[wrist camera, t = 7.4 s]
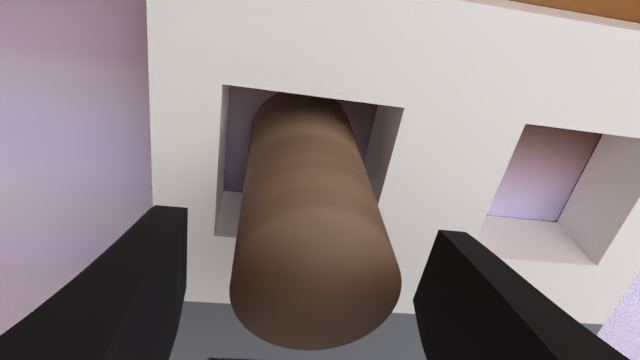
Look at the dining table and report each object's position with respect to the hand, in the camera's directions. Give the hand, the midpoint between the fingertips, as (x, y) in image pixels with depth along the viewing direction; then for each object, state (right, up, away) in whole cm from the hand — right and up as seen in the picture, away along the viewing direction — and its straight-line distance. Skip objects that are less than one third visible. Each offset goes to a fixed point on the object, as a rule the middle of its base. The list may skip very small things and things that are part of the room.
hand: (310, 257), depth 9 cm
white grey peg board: (+3, -2, +8) cm, 9 cm away
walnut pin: (0, +3, +5) cm, 6 cm away
